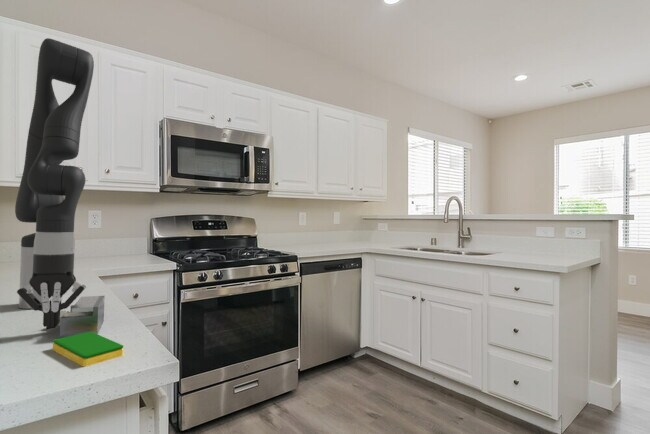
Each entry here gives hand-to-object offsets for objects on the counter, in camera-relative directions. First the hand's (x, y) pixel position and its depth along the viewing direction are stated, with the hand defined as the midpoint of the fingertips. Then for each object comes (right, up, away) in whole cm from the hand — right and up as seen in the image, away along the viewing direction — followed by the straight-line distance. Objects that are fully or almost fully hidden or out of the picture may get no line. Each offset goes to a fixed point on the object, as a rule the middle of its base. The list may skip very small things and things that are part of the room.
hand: (51, 327), depth 83 cm
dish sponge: (+15, -2, -11) cm, 19 cm away
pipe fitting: (+3, -1, +3) cm, 4 cm away
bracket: (+5, -1, +3) cm, 6 cm away
